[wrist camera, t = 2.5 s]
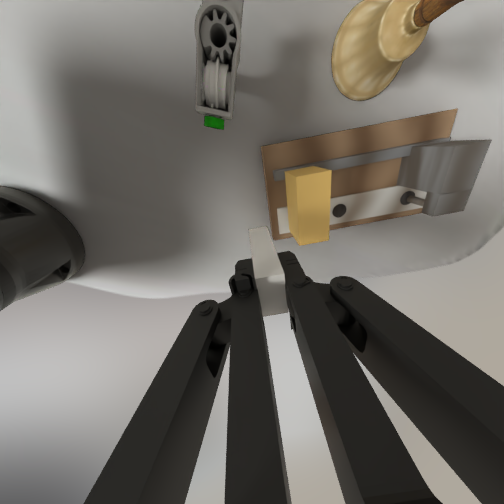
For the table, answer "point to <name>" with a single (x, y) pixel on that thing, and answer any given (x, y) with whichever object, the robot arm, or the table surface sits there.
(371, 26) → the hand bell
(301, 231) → the block
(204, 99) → the mechanical component
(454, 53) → the table surface
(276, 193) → the board
